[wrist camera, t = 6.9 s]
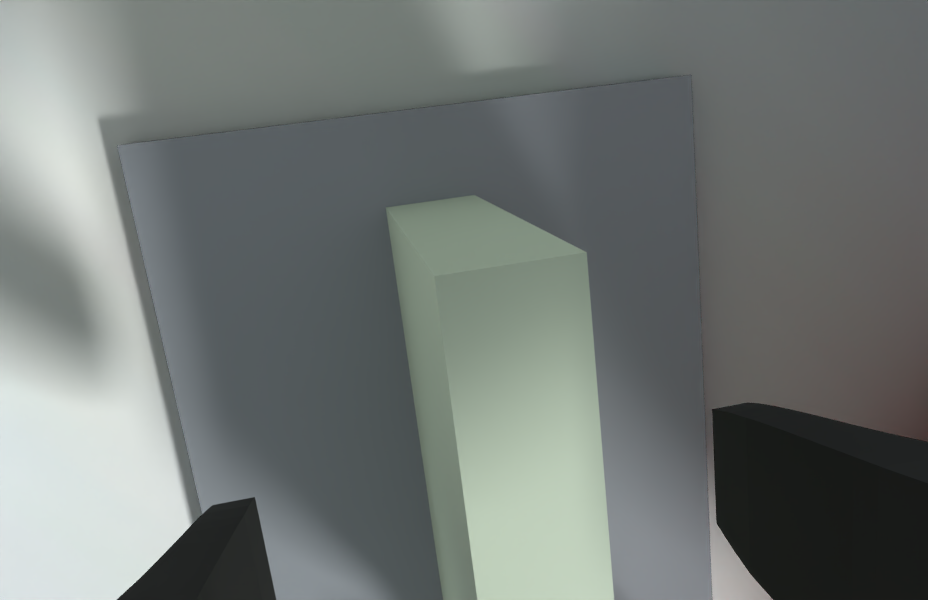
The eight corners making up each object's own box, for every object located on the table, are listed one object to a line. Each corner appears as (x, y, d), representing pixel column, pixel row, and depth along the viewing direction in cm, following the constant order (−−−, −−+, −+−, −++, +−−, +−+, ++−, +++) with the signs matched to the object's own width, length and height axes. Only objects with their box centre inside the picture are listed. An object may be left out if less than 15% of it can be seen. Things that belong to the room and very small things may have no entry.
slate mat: (678, 76, 14) (691, 74, 14) (702, 620, 17) (713, 634, 17) (125, 144, 13) (116, 145, 12) (257, 726, 16) (255, 744, 15)
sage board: (474, 195, 14) (586, 252, 8) (523, 623, 16) (638, 910, 10) (385, 207, 13) (435, 276, 8) (448, 640, 16) (523, 944, 10)
